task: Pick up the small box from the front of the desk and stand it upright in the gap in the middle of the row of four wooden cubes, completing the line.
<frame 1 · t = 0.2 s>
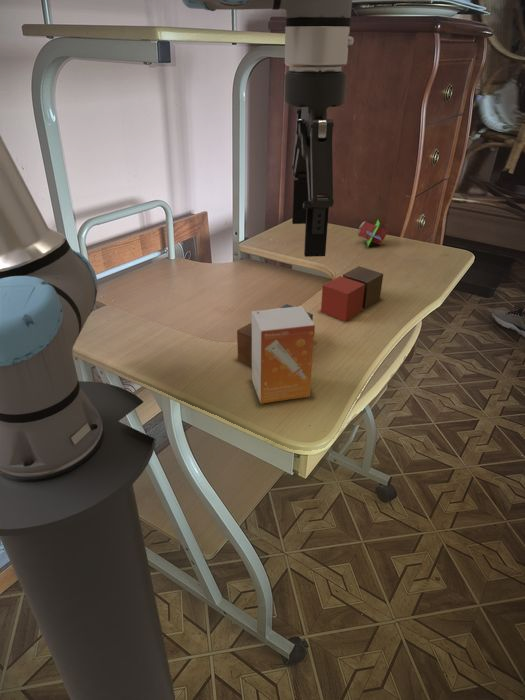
hand: (307, 238, 72), 23 cm above the table, tool pointing down, fingers open, 13 cm apart
geometric puzzle: (371, 245, 134), on the table
cube c: (341, 311, 101), on the table
cube d: (360, 300, 106), on the table
cube a: (262, 359, 86), on the table
small box: (280, 390, 79), on the table
cube b: (288, 343, 91), on the table
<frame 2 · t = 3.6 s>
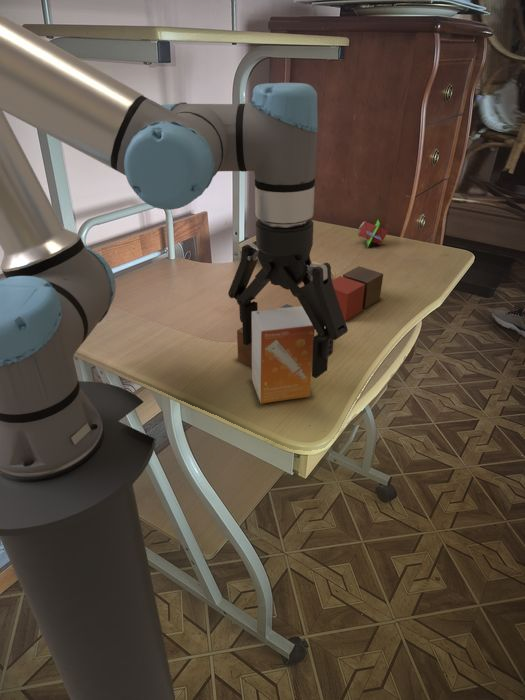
hand: (283, 356, 76), 6 cm above the table, tool pointing down, fingers open, 13 cm apart
cube a: (262, 359, 86), on the table, touching gripper
everything else where it was.
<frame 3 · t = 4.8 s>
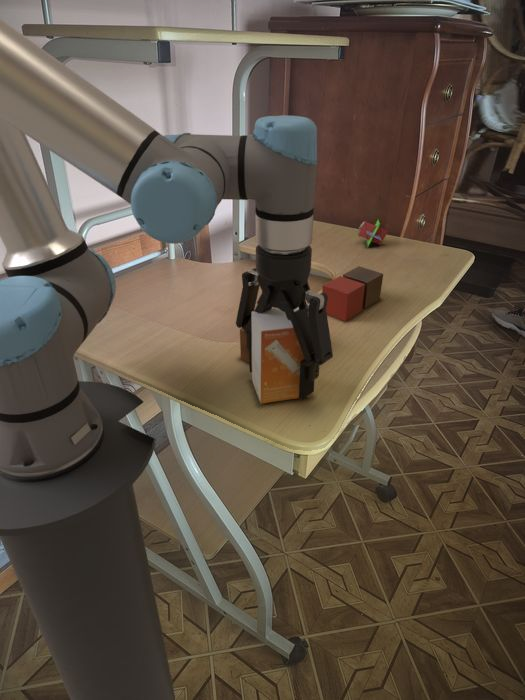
hand: (280, 381, 78), 2 cm above the table, tool pointing down, fingers closed on small box, 9 cm apart
cube a: (264, 358, 87), on the table
small box: (280, 390, 79), on the table, touching gripper
everything else where it was.
when the fingers open (3 cm above the table, at t = 11.2 s): small box stays where it is, on the table.
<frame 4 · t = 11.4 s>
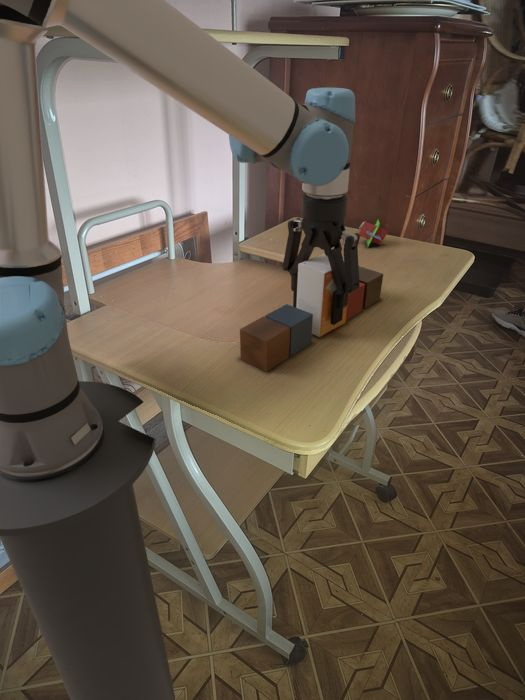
hand: (317, 314, 95), 3 cm above the table, tool pointing down, fingers open, 8 cm apart
small box: (320, 325, 97), on the table
everything else where it was.
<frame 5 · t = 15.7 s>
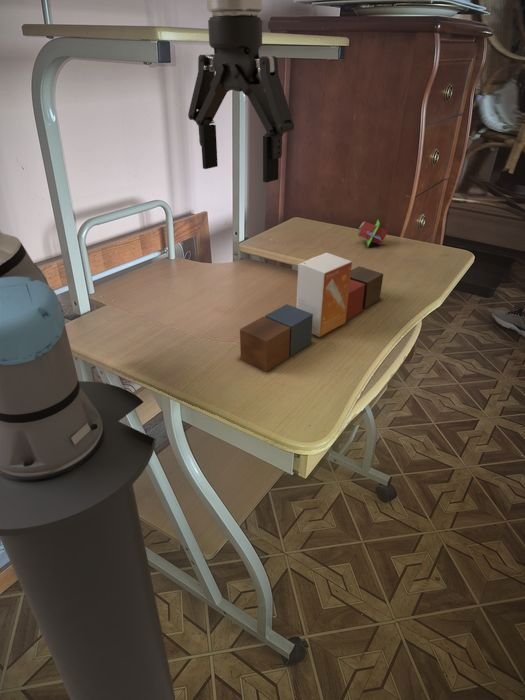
hand: (239, 174, 80), 29 cm above the table, tool pointing down, fingers open, 13 cm apart
nothing on the table moved.
at the end: small box 1.1 cm from the target spot on the table beside the cube c, on the table; small box tilted 0° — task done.
